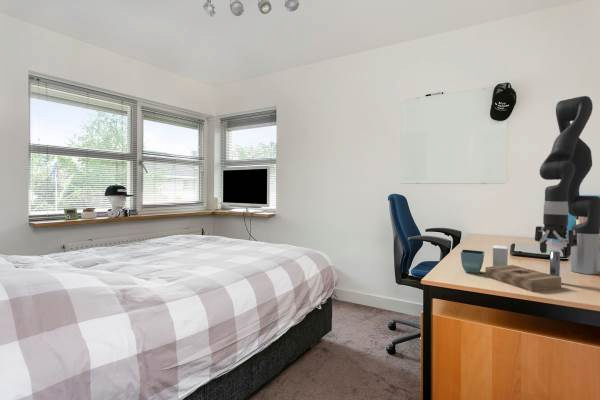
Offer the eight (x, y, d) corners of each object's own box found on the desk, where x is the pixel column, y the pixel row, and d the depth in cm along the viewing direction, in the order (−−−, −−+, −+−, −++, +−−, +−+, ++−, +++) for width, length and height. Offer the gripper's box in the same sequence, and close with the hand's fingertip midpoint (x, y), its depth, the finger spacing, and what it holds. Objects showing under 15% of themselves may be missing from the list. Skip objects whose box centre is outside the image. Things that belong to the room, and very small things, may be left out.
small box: (507, 273, 139) (507, 248, 139) (492, 271, 142) (492, 247, 142) (507, 269, 146) (507, 246, 146) (492, 267, 149) (493, 245, 149)
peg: (553, 281, 127) (554, 250, 126) (561, 283, 124) (562, 252, 123) (547, 281, 126) (548, 251, 125) (555, 283, 123) (556, 252, 123)
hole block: (485, 276, 133) (485, 267, 133) (512, 274, 137) (512, 264, 137) (531, 291, 114) (531, 280, 114) (560, 288, 118) (561, 277, 118)
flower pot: (484, 271, 143) (484, 251, 142) (483, 275, 135) (483, 254, 135) (462, 268, 147) (462, 249, 147) (460, 272, 140) (460, 252, 140)
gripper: (583, 214, 118) (581, 258, 118) (544, 211, 132) (543, 251, 132) (568, 214, 116) (566, 259, 117) (530, 212, 130) (529, 251, 130)
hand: (554, 254), depth 124 cm, fingers open, 8 cm apart
